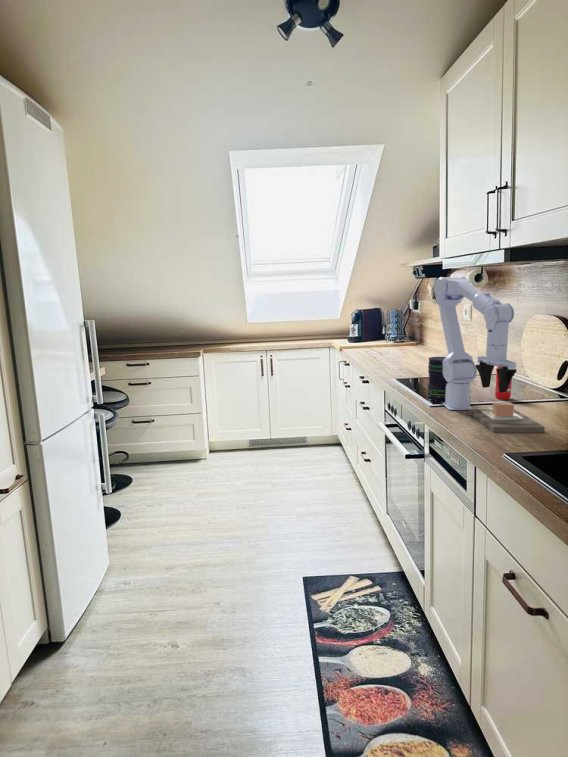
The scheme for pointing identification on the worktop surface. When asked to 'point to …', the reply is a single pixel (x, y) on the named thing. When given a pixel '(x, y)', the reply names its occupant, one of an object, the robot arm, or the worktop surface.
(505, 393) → the beverage can
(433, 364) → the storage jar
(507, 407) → the stub
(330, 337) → the worktop surface
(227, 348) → the worktop surface
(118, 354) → the worktop surface
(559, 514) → the worktop surface
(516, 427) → the ticket board
